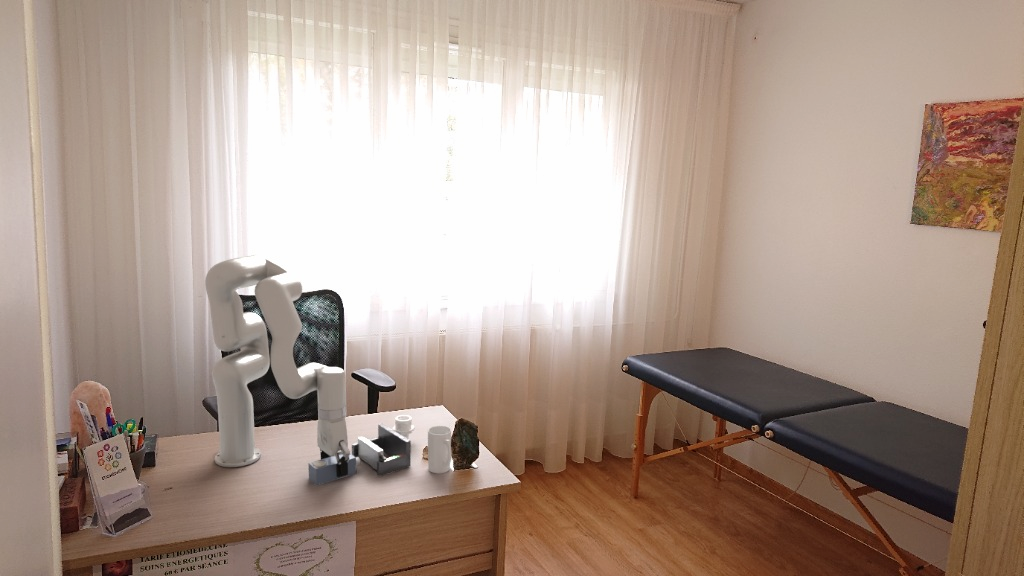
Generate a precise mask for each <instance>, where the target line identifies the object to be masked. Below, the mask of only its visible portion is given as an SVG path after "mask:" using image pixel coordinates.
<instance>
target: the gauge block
mask: <svg viewBox="0 0 1024 576" xmlns="http://www.w3.org/2000/svg"><path fill="white" fill-rule="evenodd" d="M342 456H343V454H342V455H339V457H340V459H341V457H342ZM307 464H308V480H309V481H310V482H311V483H313V485H314V486H321V485H324V484H327V483H329V482H333V481H337V480H339V479H342V478H346V477H349V476H352V475H355V474H357V467H358V466H360V465H361V458H360V457H354V456H353V455H352V453H350V455H349V461H348V475H345V476H342V477H339V478H338V477H337V474H336V464H337V460H336V457H335V456H333V457H328V458H325V459H321V458H320V459H318V460H315V461H312V462H308V463H307Z"/></svg>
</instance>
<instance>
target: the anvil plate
mask: <svg viewBox="0 0 1024 576" xmlns="http://www.w3.org/2000/svg"><path fill="white" fill-rule="evenodd" d="M357 442H358V457H359V459H360V460H363V462H365V463H367V465H369V466H370V467H372V468H374V469H375V470H376V471H377V462H378V461H381V460H384V461H386V460H387V457H386V456H384V452H383V450H382V449H381V448H379V447H378V446H376V445H375V444H373V443H372V442H370V441H369V440H368V439H367V438H366V437H364V436H358V438H357Z"/></svg>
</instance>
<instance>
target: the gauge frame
mask: <svg viewBox="0 0 1024 576" xmlns="http://www.w3.org/2000/svg"><path fill="white" fill-rule="evenodd" d="M377 426H378V428H377V431H378V432H377V435H378V436H377V437H372V438H369V439H367V440H369V441H370V442H372V443H373V444H375V445H376V446H378V447H379V448H381V449H382V450H383V454H385V455H387V456H388V458H387V457H386V458H387V460H386V461H384V460H381V461H378V462H377V470H376V476H378V477H382V476H384V475H385V476H386V475H389V474H392V473H394V472H397V471H400V470H404V469H407V468H410V467H411V463H412V462H411V461H412V460H411V458H412V457H411V453H412V451H411V447H412V446H411V445H412V444H411V442H412V441H411V440H410V439H409V440H408V439H407V438H405V437H403V436H402V435H400V434H399V433H397V432H395V431H394V430H392V429H393V428H390V427H389V426H387V425H385V424H384V423H379V424H378V425H377ZM351 454H352V455H353V456H354V457H358V441H357V442H354V443H352V444H351Z"/></svg>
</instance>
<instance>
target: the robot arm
mask: <svg viewBox="0 0 1024 576" xmlns="http://www.w3.org/2000/svg"><path fill="white" fill-rule="evenodd" d="M204 283H205V284H204V286H205V291H206V295H207V299H208V302H209V303H208V304H209V307H210V320H211V325H212V326H211V327H212V335H213V343H214V344H215V347H217V349H218V350H220V351H222V352H233V351H236V350H238V349H240V350H239V351H237V352H234V353H231V354H229V355H225V356H224V357H222V358H221V359H219V360H218V361H217V362H215V364H214V366H213V368H212V370H211V378H212V381H213V386H214V387H215V393H216V401H217V415H218V434H219V452H217V453H216V454H215V456H214V462H215V464H216V465H218V466H220V467H223V468H238V467H245V466H248V465H251V464H253V463H255V462H257V461H258V460H259V459H260V458H261V456H262V451H261V449H260V448H258V447H256V441H255V439H256V438H255V421H254V419H255V416H254V415H255V414H254V399H253V395H252V393H251V392H250V390H249V388H248V384H249V383H251V382H253V381H255V380H258V379H259V378H260V379H261V378H262V377H263V376H265V375H266V374H267V372H268V370H269V369H270V367H271V371H272V373H273V376H274V379H275V381H276V384H277V386H278V387H279V389H280V391H281V393H283V395H284V396H286V397H287V398H289V399H292V400H296V399H300V398H302V397H304V396H306V395H308V394H309V393H311V392H314V391H317V411H318V413H317V415H318V420H317V435H316V437H317V438H316V439H317V441H316V443H317V447H318V448H319V451H320V460H321V459H325V458H328V457H333V456H335V457H336V460H337V464H336V474H337V477H338V478H339V477H342V476H345V475H348V461H349V455H350V454H351V451H350V450H349V447H348V446H349V445H348V444H349V440H348V429H347V421H346V418H347V393H346V392H347V391H346V389H347V387H346V372H345V370H344V369H343V368H342V367H338V366H327V365H324V364H322V363H317V362H309V363H306V364H304V365H302V366H299V367H297V365H296V362H295V360H294V359H295V358H294V345H295V344H296V343H295V342H296V340H297V339H298V337H299V335H300V333H301V331H302V329H303V323H302V320H301V318H300V316H299V313H298V311H297V309H296V307H295V304H294V302H295V301H297V300H298V299H300V298H301V296H302V294H303V285H302V282H301V281H300V279H299V278H298V277H297V276H296V275H295V274H294V273H293V272H291V271H289V270H288V269H286V268H284V267H283V266H281V265H279V264H278V263H276V262H274V261H272V260H271V259H270V258H267V257H265V256H262V255H258V254H257V255H256V254H255V255H247V256H242V257H235V258H231V259H230V258H229V259H226V260H223V261H220V262H218V263H216V264H214V265H213V266H212V267H210V269H209V270H208V271H207V273H206V276H205V280H204ZM253 286H255V287H254V290H253V293H254V296H255V299H256V301H257V304H258V306H259V308H260V311H261V313H262V315H263V318H264V320H265V322H264V320H263V318H262V316H260V315H258V314H257V313H255V312H250V311H245V312H244V307H243V301H242V298H241V297H240V295H239V293H238V292H237V291H236V290H240V289H243V288H248V287H253ZM266 325H267V327H268V330H269V332H270V334H271V339H272V340H271V346H270V348H269V338H268V331H267V327H266ZM342 454H343V456H342V457H341V459H340V457H339V455H342Z"/></svg>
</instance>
